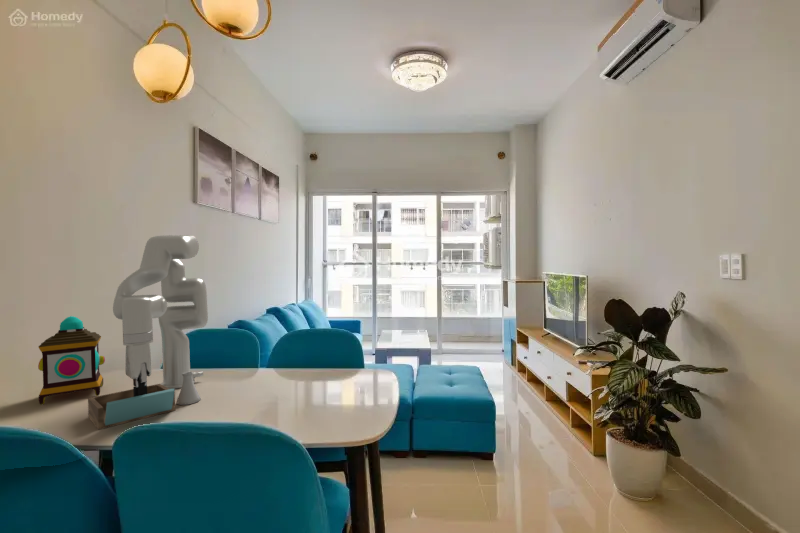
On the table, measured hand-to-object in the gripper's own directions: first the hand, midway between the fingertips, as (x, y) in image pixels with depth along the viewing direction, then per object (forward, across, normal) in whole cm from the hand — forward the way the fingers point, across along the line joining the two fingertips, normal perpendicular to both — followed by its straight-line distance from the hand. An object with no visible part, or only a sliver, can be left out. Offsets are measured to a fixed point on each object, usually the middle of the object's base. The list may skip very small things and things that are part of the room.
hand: (140, 399), depth 121 cm
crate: (+7, -10, 0) cm, 12 cm away
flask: (+7, -8, +16) cm, 19 cm away
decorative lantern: (+8, -56, -10) cm, 57 cm away
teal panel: (+5, -2, 0) cm, 5 cm away
